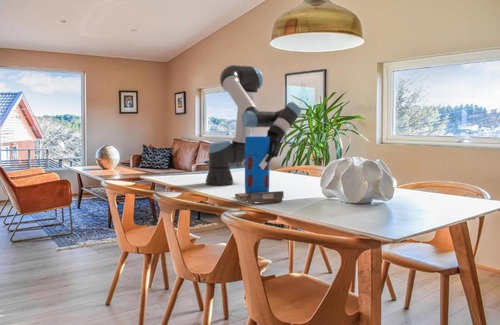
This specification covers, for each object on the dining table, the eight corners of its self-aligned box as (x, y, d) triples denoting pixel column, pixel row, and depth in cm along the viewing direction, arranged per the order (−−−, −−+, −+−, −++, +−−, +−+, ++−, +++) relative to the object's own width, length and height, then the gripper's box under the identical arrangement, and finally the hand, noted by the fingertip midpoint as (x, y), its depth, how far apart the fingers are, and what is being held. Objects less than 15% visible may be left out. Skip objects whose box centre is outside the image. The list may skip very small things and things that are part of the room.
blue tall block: (259, 196, 187) (259, 137, 185) (239, 193, 194) (240, 136, 191) (273, 192, 196) (274, 136, 193) (254, 190, 202) (254, 136, 200)
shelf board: (235, 196, 201) (235, 187, 201) (264, 194, 207) (264, 185, 207) (251, 204, 184) (251, 193, 183) (283, 201, 190) (283, 191, 189)
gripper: (301, 136, 193) (275, 174, 185) (265, 135, 211) (240, 169, 203) (292, 124, 189) (265, 162, 181) (257, 124, 207) (231, 158, 199)
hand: (252, 166), depth 192 cm, fingers closed on blue tall block, 11 cm apart
